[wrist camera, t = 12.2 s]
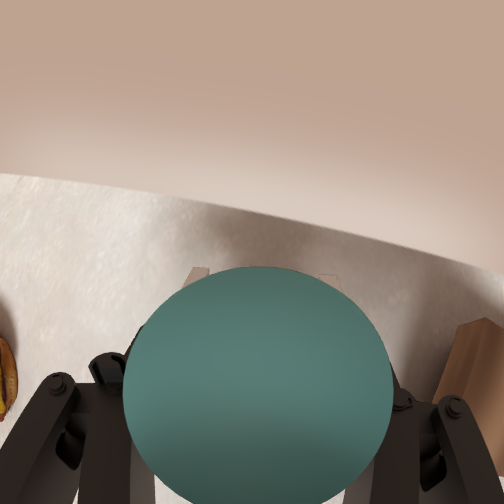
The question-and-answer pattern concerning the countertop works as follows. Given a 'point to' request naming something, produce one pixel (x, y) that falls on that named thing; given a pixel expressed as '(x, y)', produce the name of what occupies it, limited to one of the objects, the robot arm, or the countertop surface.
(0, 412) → the burger
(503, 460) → the slab
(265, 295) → the roller
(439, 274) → the countertop surface
